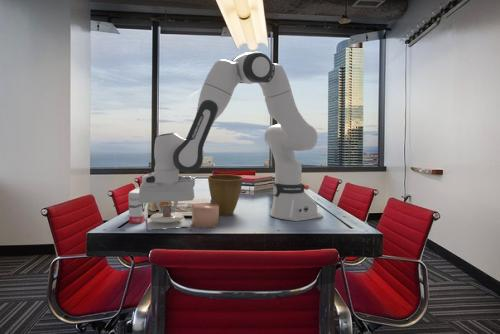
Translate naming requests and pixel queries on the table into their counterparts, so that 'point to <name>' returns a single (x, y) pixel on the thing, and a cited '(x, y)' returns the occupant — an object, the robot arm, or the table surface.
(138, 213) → the ink box
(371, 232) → the table surface
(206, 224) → the pink rounded cylinder
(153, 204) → the candy box
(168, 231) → the table surface
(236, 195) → the plant pot
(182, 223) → the mat
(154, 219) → the lid
